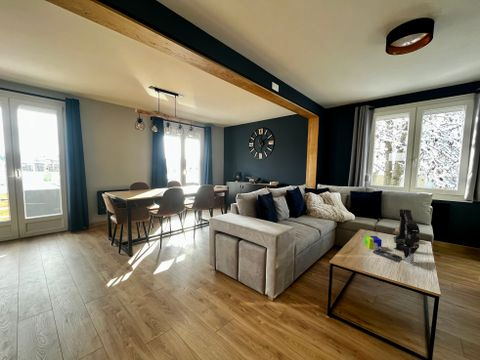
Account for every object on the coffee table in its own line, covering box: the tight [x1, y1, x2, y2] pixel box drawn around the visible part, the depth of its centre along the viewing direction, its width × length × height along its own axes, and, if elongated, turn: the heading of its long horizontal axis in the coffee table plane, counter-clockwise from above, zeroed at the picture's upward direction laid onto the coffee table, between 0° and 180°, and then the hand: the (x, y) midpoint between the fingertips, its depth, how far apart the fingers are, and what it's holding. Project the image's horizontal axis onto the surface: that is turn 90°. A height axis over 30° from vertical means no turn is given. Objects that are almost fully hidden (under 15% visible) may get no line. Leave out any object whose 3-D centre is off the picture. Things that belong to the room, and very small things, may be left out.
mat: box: [399, 259, 417, 267], centre depth 162 cm, size 8×8×1 cm
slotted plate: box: [372, 248, 403, 263], centre depth 173 cm, size 10×18×2 cm, turn 27°
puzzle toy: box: [364, 234, 383, 251], centre depth 190 cm, size 10×10×10 cm
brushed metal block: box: [402, 252, 415, 264], centre depth 162 cm, size 5×5×8 cm
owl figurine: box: [392, 225, 406, 240], centre depth 209 cm, size 18×12×17 cm, turn 42°
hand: (408, 256), depth 161 cm, fingers open, 9 cm apart
